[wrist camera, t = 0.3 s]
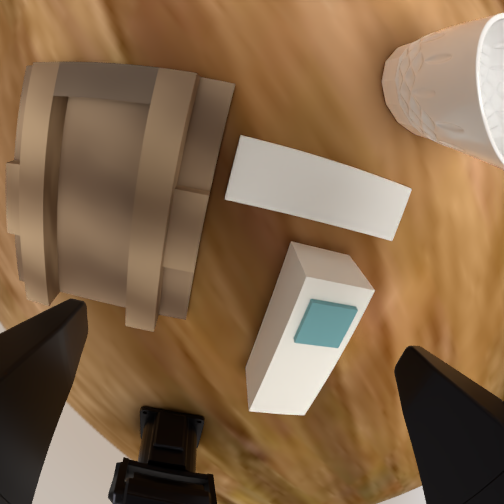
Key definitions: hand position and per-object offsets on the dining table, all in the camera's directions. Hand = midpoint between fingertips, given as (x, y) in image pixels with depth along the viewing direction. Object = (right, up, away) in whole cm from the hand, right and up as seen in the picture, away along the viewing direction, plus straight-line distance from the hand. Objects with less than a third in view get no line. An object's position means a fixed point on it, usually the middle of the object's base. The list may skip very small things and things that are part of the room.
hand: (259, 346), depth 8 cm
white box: (+3, -3, +17) cm, 17 cm away
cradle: (-10, +6, +11) cm, 16 cm away
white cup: (+11, +13, +10) cm, 20 cm away
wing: (+4, +7, +13) cm, 15 cm away
